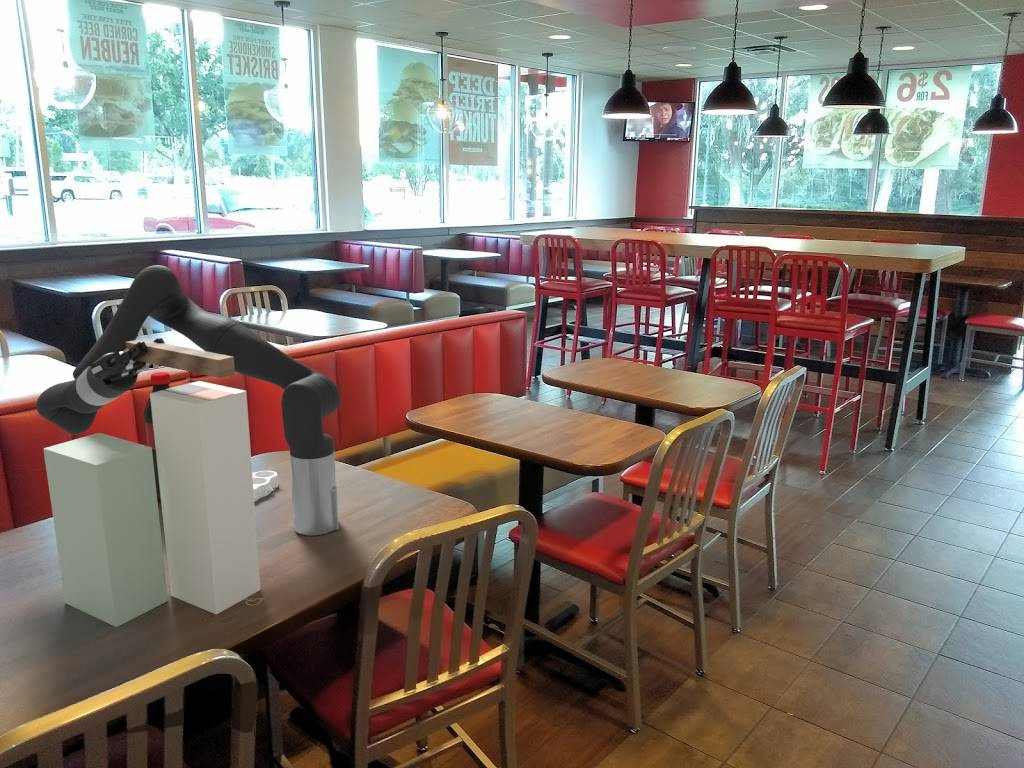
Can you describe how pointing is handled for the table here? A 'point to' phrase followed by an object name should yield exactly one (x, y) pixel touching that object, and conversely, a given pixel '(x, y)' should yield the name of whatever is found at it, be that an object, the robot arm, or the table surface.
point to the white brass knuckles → (264, 483)
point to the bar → (186, 359)
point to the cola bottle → (159, 383)
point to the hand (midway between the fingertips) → (153, 344)
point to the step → (107, 526)
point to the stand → (206, 493)
